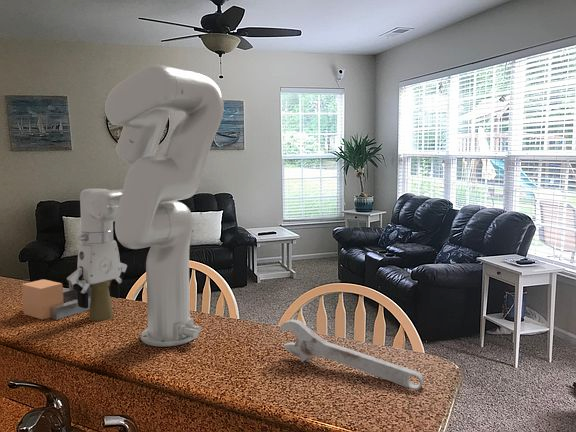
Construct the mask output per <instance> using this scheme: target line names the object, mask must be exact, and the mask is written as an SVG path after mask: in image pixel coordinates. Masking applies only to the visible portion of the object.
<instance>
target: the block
mask: <svg viewBox="0 0 576 432" xmlns="http://www.w3.org/2000/svg"><path fill="white" fill-rule="evenodd" d="M63 290H64V288H63V283H62V282H57V281H53V280H48V279H39V280H34V281H30V282H26V283H21V293H22V309H23V310H22V311H23V315H25V316H29V317H33V318H36V319H39V320H46V319H49V318H51V312H50V307H52V306H56V305H59V304H63Z"/></svg>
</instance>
